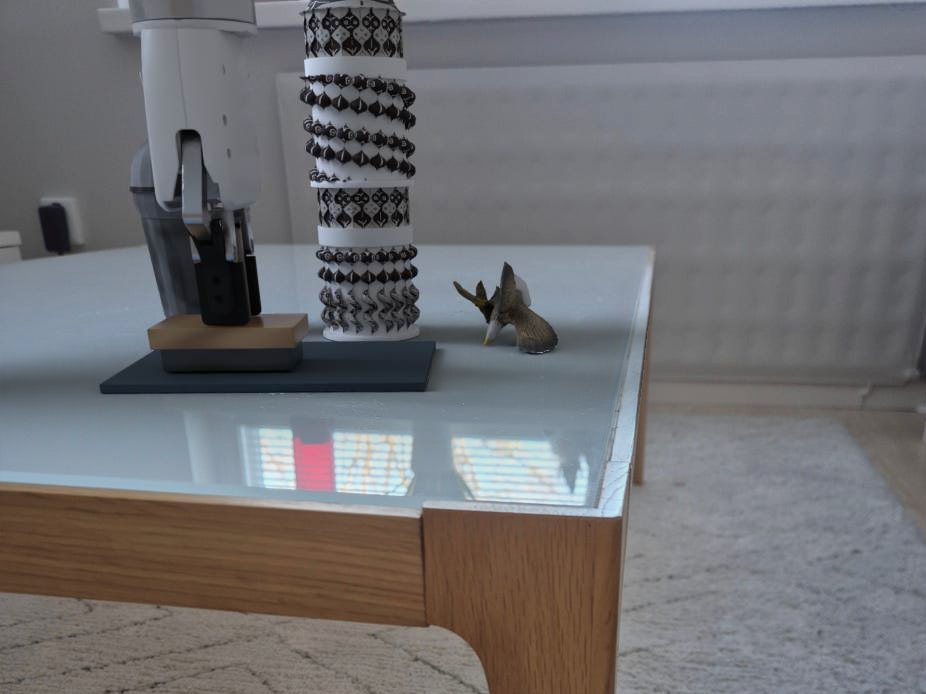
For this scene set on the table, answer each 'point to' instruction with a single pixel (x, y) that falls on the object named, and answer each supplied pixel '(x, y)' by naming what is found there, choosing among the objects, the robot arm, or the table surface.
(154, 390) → the mat
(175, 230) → the beverage cup
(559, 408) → the table surface
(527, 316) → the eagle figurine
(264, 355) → the brush
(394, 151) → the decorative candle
